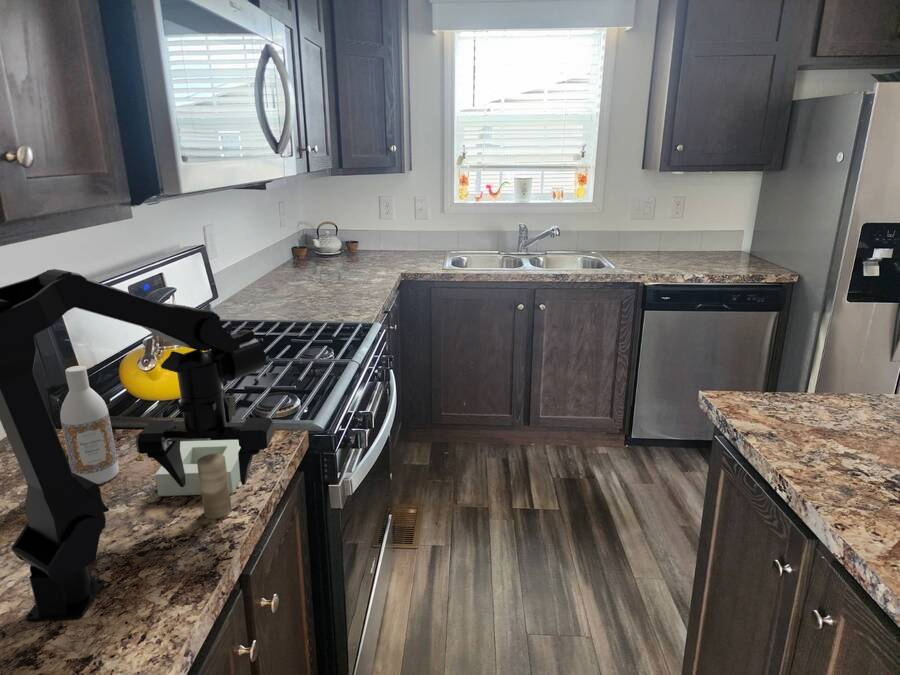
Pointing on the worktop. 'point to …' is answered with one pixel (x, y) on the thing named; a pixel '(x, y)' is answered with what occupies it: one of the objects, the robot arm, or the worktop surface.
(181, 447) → the socket block
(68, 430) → the bath foam
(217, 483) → the peg
